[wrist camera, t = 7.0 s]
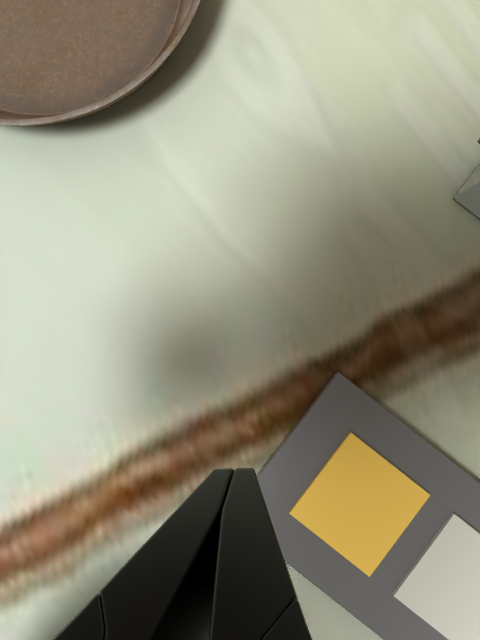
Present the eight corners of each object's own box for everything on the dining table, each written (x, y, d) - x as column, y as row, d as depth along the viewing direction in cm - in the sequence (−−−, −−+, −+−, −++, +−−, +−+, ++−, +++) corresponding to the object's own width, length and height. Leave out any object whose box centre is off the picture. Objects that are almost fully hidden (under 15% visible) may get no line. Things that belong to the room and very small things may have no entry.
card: (477, 709, 21) (486, 722, 20) (228, 511, 21) (228, 518, 20) (581, 564, 21) (593, 572, 20) (336, 371, 21) (339, 372, 21)
